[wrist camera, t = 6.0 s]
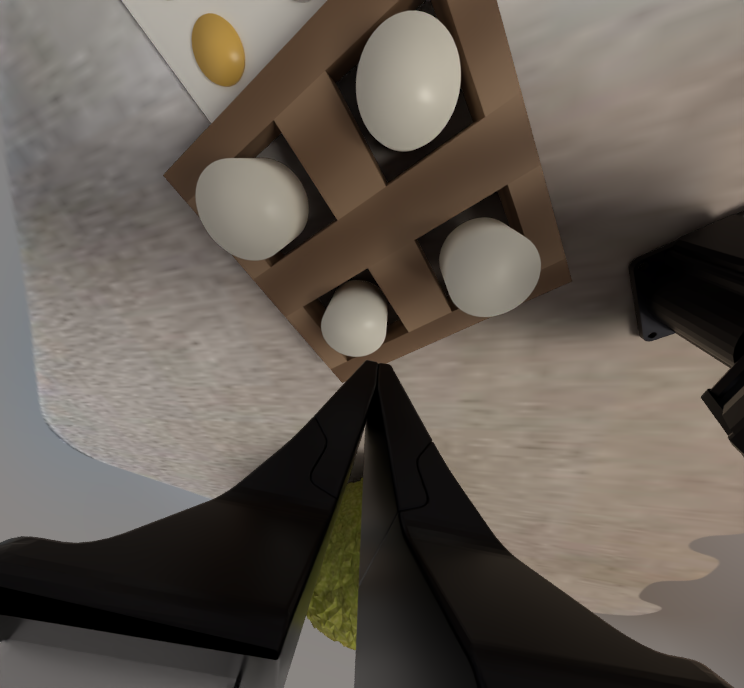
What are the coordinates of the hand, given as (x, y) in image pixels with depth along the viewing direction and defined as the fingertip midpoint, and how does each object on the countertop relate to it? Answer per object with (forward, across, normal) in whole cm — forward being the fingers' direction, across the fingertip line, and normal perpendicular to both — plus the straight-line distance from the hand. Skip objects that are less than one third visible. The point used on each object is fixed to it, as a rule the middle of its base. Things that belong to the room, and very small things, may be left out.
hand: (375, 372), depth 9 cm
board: (+11, +1, -2) cm, 11 cm away
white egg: (+11, +1, -8) cm, 13 cm away
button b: (+10, +1, +3) cm, 11 cm away
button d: (+8, +7, -3) cm, 11 cm away
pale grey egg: (+9, -4, -2) cm, 10 cm away
